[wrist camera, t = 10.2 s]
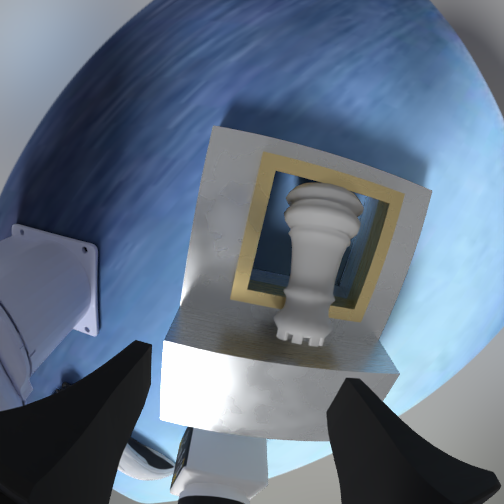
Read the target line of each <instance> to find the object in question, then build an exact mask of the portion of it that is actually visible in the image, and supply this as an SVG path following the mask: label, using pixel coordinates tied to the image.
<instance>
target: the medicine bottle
mask: <svg viewBox="0 0 504 504" xmlns="http://www.w3.org/2000/svg"><path fill="white" fill-rule="evenodd" d="M267 485H268V465H267V442H266V438H258V437H249V436H241V435H234V434H227V433H221V432H215V431H210V430H205V429H200V428H195V427H190V426H188V427H187V429H186V431H185V434H184V436H183V438H182V440H181V442H180V446H179V450H178V455H177V460H176V464H175V469H174V473H173V478H172V483H171V488H170V493H171V494H173V495H177V496H179V500H178V504H250V501H249V500H250V499H252V498H253V497H254V496H255V495H257V494H258V493H259V492H260V491H261V490H263V489H264V488H265V487H266V486H267Z"/></svg>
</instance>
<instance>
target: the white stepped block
mask: <svg viewBox="0 0 504 504" xmlns="http://www.w3.org/2000/svg"><path fill="white" fill-rule="evenodd" d="M275 171H279V172H284V173H288V174H292V175H295V176H299V177H303V178H307V179H311V180H314V181H318V182H322V183H328V184H333V185H337V186H340V187H343V188H346V189H347V190H349V191H353V192H356V193H359V194H362V195H365V196H366V200H365V203H364V209H363V214H361V218H360V222H361V225H360V229H359V231H358V234H357V235H356V236H355V238H354V241H353V245H352V248H351V251H350V254H349V257H348V260H347V263H346V266H345V269H344V272H343V275H342V278H341V281H340V284H339V286H337V285H334V290H333V296H334V298H335V301H334V302H333V303H332V304H331V305H330V308H329V314H328V316H329V318H330V321H331V323H332V326H333V328H334V330H332V331H331V332H330V333H329V334H328V335H327V336H326V337H325V339H324V343H323V346H318V347H316V346H310V345H308V343H309V339H310V338H307V340H306V341H305V340H302V344H296V343H291V342H292V338H293V337H292V338H288V339H287V340H281V339H279V338H278V337H276V335H277V331H278V327H277V325H276V323H275V321H274V319H273V317H274V316H275V315H276V314H277V313H278V312H279V311H280V310H281V309H282V308H283V307H284V305H285V302H286V295H285V293H284V291H283V290H284V289H285V288H286V287H287V286H288V283H289V278H290V276H287V275H283V274H278V273H273V272H268V271H263V270H259V269H254V268H252V267H253V263H254V259H255V255H256V251H257V246H258V242H259V238H260V234H261V230H262V226H263V222H264V217H265V213H266V209H267V205H268V201H269V196H270V192H271V188H272V184H273V180H274V175H275ZM431 194H432V190H429V189H427V188H425V187H422V186H420V185H418V184H415V183H413V182H410V181H408V180H405V179H403V178H400V177H398V176H395V175H393V174H390V173H387V172H385V171H382V170H379V169H376V168H374V167H371V166H368V165H365V164H362V163H359V162H356V161H353V160H350V159H347V158H344V157H341V156H338V155H334V154H331V153H328V152H324V151H321V150H318V149H314V148H311V147H307V146H303V145H300V144H296V143H292V142H288V141H284V140H280V139H276V138H272V137H268V136H263V135H259V134H254V133H250V132H245V131H240V130H235V129H230V128H224V127H219V126H213V128H212V133H211V137H210V141H209V146H208V150H207V155H206V159H205V164H204V169H203V174H202V178H201V183H200V188H199V194H198V199H197V204H196V209H195V215H194V220H193V226H192V232H191V238H190V244H189V250H188V256H187V262H186V269H185V276H184V283H183V290H182V297H181V305H180V307H179V309H178V311H177V314H176V316H175V318H174V320H173V322H172V324H171V326H170V329H169V331H168V333H167V335H166V337H165V339H164V347H163V362H162V380H161V408H160V419H161V420H165V421H169V422H173V423H177V424H181V425H185V426H190V427H195V428H200V429H205V430H210V431H215V432H221V433H227V434H234V435H241V436H249V437H258V438H268V439H280V440H296V441H330V440H329V435H328V427H327V415H326V412H327V410H328V408H329V407H330V405H331V403H332V401H333V400H334V398H335V396H336V394H337V393H338V391H339V389H340V387H341V385H342V384H343V382H344V380H345V378H360V379H361V380H362V381H363V382H364V383H365V384H366V385H367V386H368V387H369V388H370V389H371V390H372V391H373V392H374V393H375V394H376V395H377V396H378V397H379V398H380V399H381V400H382V401H383V400H384V398H385V397H386V395H387V394H388V392H389V391H390V389H391V388H392V386H393V384H394V383H395V381H396V380H397V378H398V376H399V375H400V373H399V371H398V370H397V368H396V366H395V365H394V363H393V362H392V360H391V358H390V357H389V355H388V354H387V352H386V350H385V349H384V347H383V346H382V344H381V343H380V341H379V338H380V336H381V333H382V331H383V329H384V327H385V325H386V323H387V320H388V318H389V316H390V314H391V311H392V309H393V307H394V304H395V302H396V300H397V297H398V295H399V292H400V290H401V287H402V285H403V282H404V280H405V277H406V274H407V272H408V269H409V266H410V263H411V260H412V258H413V255H414V252H415V249H416V246H417V243H418V240H419V236H420V233H421V230H422V227H423V223H424V220H425V216H426V213H427V209H428V205H429V202H430V198H431Z"/></svg>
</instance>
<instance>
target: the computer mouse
mask: <svg viewBox="0 0 504 504" xmlns="http://www.w3.org/2000/svg"><path fill="white" fill-rule="evenodd" d="M69 386H71V385H70V384H68V383H67V382H64V383H63V384H62V388H61V390H63V389H65V388H67V387H69ZM61 390H60V391H61ZM56 391H57V392H59V390H58V389H57V390H56ZM118 469H119V470H120V471H121V472H123V473H125V474H126V475H128V476H130V477H133V478H136V479H140V480H158V479H162V478H165V477H168V476H170V475H172V474H173V473H174V469H175V464H174V463H173V462H172V461H171V460H170V459H168V458H167V457H165V456H164V455H162V454H161V453H159V452H157V451H155V450H153V449H151V448H149V447H147V446H145V445H143V444H141V443H139V442H138V441H136V440H134V439H133V438H131V437H130V438H129V440H128V442H127V445H126V447H125V449H124V451H123V454H122V457H121V459H120V463H119V466H118Z"/></svg>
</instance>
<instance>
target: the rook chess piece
mask: <svg viewBox="0 0 504 504" xmlns="http://www.w3.org/2000/svg"><path fill="white" fill-rule="evenodd" d="M286 200H287V202H288V204H289V205H290V207H288V208H287V210H286V211H285V212H284V216H285V221H286V223H287V224H288V226H289V228H290V229H291V230H290V231H289V233H288V234H289V235H290V237H291V241H292V260H291V273H290V278H289V283H288V286H287V287H286V288H285V289H284V290H283V291H284V293H285V295H286V302H285V305H284V307H283V308H282V309H281V310H280V311H279V312H278V313H277V314H276V315H275V316H274V317H273V319H274V321H275V323H276V325H277V327H278V331H277V335H276V337H278V338H279V339H281V340H287V339H288V338H292V337H293V338H292V342H291V343H296V344H302V340H305V341H306V340H307V338H310V339H309V343H308V345H310V346H316V347H318V346H323V343H324V339H325V337H326V336H327V335H328V334H329V333H330V332H331V331H332V330H334V328H333V326H332V323H331V321H330V318H329V316H328V314H329V308H330V305H331V304H332V303H333V302H334V301H335V298H334V296H333V290H334V284H335V279H336V276H337V273H338V270H339V266H340V263H341V260H342V257H343V255H344V252H345V250H346V248H347V247H348V246H350V243H351V242H350V240H351V239H352V238H353V237H354V236H356V235H357V234H358V231H359V229H360V225H361V222H360V221H359V219H358V218H357V217H358V216H359V215H361V214H363V209H364V207H363V206H362V204H361V202H360V200H359V199H358V198H357V196H356V195H355V194H354V193H353V192H351V191H349V190H347V189H346V188H343V187H340V186H337V185H333V184H328V183H319V182H313V183H304V184H301V185H299V186H296V187H295V188H294V189H293V190H292V191H290V192H289V194H288V195H287V197H286Z"/></svg>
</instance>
